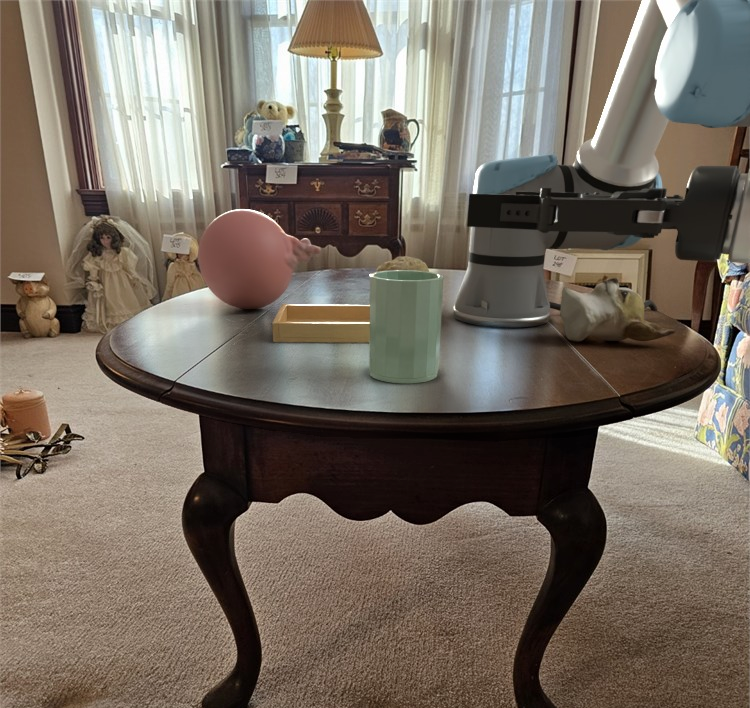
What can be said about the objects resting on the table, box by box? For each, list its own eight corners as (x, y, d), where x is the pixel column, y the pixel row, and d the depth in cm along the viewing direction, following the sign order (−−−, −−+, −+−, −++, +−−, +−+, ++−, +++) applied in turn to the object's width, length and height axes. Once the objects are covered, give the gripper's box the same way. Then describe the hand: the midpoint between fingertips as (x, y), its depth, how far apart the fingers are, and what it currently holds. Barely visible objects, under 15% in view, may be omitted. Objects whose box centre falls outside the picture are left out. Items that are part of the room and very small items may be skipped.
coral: (437, 306, 114) (439, 260, 110) (386, 308, 111) (387, 261, 108) (419, 297, 122) (421, 254, 118) (371, 299, 119) (372, 255, 116)
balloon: (314, 319, 103) (311, 213, 96) (190, 316, 104) (178, 211, 97) (328, 302, 117) (327, 208, 110) (219, 299, 118) (210, 206, 111)
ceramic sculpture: (551, 269, 92) (650, 275, 94) (540, 330, 96) (635, 335, 98) (581, 281, 83) (690, 288, 85) (567, 349, 87) (671, 354, 89)
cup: (433, 364, 80) (438, 270, 75) (441, 383, 73) (447, 281, 68) (368, 364, 80) (369, 269, 75) (370, 383, 73) (370, 280, 68)
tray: (395, 322, 102) (396, 305, 101) (401, 342, 90) (401, 323, 89) (282, 321, 102) (281, 304, 100) (273, 342, 89) (272, 323, 88)
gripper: (713, 279, 47) (442, 260, 56) (729, 250, 67) (527, 239, 76) (740, 162, 44) (447, 162, 53) (748, 168, 64) (534, 166, 73)
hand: (494, 207), depth 64 cm, fingers open, 13 cm apart
